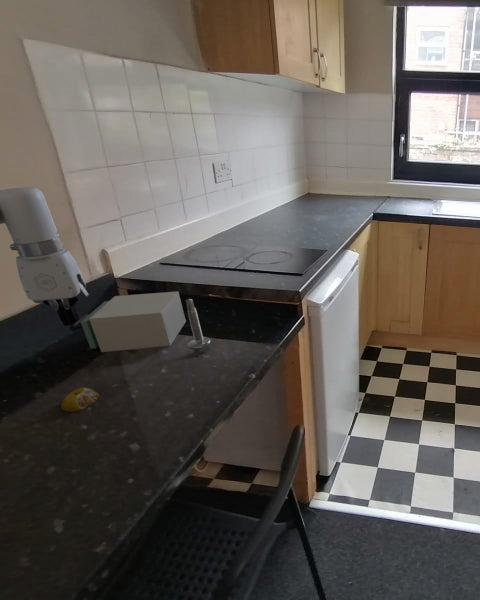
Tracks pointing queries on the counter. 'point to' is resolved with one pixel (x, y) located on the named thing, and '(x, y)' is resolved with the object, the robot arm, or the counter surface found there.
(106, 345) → the pale grey box
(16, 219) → the robot arm
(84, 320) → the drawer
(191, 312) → the screw
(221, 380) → the counter surface
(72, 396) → the fruit
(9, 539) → the counter surface
